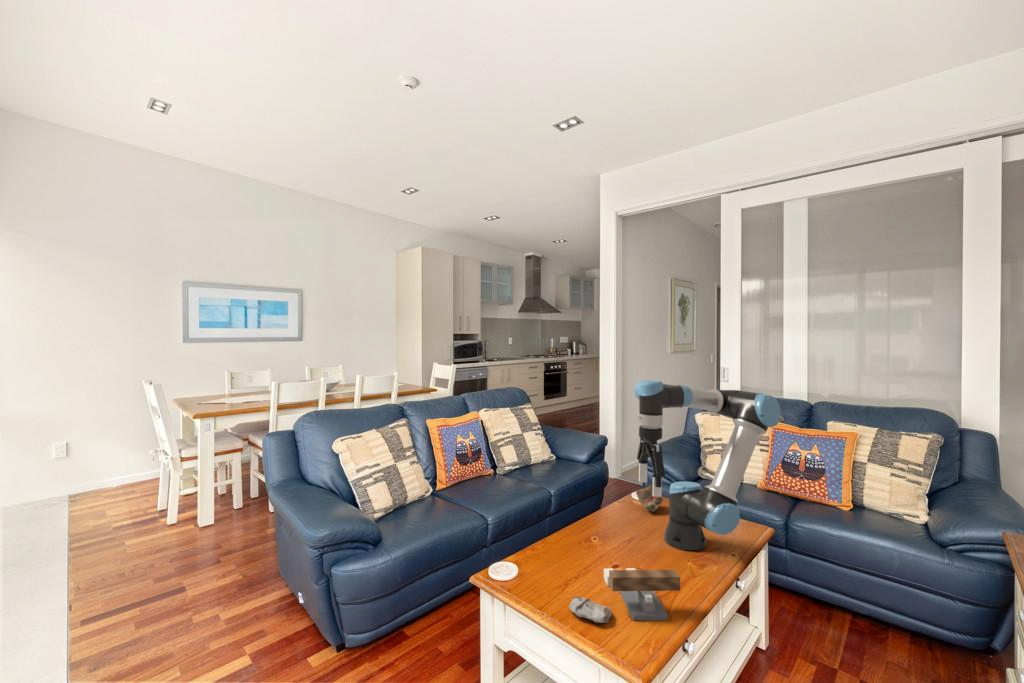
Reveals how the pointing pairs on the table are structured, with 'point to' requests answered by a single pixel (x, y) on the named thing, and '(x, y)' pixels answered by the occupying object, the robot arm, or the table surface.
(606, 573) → the blocks
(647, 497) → the rock
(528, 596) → the table surface
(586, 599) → the stone
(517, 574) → the table surface
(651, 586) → the bar
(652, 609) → the fulcrum
